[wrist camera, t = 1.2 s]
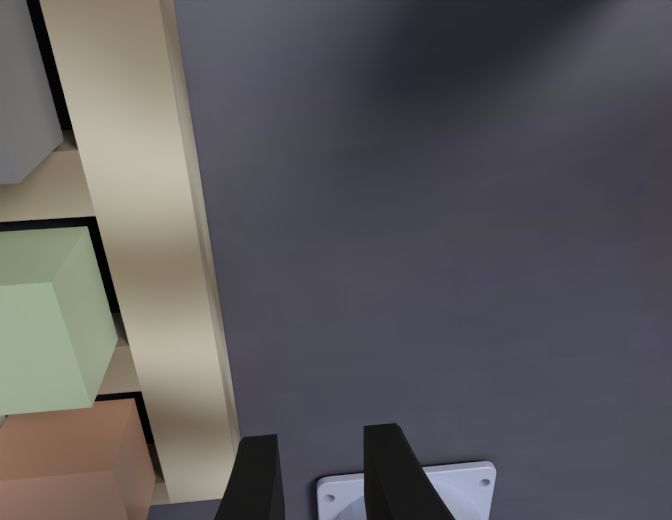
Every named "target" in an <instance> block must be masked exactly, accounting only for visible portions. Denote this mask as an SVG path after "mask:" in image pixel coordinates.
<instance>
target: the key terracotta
mask: <svg viewBox="0 0 672 520" xmlns="http://www.w3.org/2000/svg"><path fill="white" fill-rule="evenodd" d="M155 479H156V477H155V473H154V470H153V466H152V462H151V459H150V455H149V451H148V448H147V444H146V440H145V437H144V433H143V429H142V426H141V422H140V418H139V415H138V411H137V407H136V404H135V400H134V398H132V399H120V400H109V401H97V402H94V403H93V406H92V407H91V408H79V409H68V410H56V411H45V412H33V413H22V414H10V415H8V417H7V418H6V420H5V422H4V424H3V426H2V427H1V429H0V520H147V516H148V512H149V507H150V502H151V498H152V493H153V489H154V484H155Z"/></svg>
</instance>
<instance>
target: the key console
mask: <svg viewBox="0 0 672 520" xmlns="http://www.w3.org/2000/svg"><path fill="white" fill-rule="evenodd" d="M40 4H41V8H42V12H43V16H44V20H45V23H46V27H47V31H48V35H49V39H50V43H51V46H52V50H53V54H54V58H55V62H56V66H57V69H58V73H59V77H60V81H61V85H62V89H63V92H64V96H65V100H66V104H67V108H68V112H69V115H70V119H71V123H72V127H73V130H61V131H62V135H63V139H64V140H63V141H62V142H61V143H60V144H59V145H58V146H57V147H56V148H55V149H54V150H53V151H52V152H51V153H50V154H49V155H48V156H47V157H46V158H45V159H44V160H43V161H41V162H40V163H39V164H38V165H37V166H36V167H35V168H34V169H33V170H32V171H31V172H30V173H29V174H28V175H27V176H26V177H25V178H24V179H23V180H22V181H21V182H20V183H12V184H0V222H7V221H23V220H39V219H55V218H71V217H87V216H96V219H97V223H98V227H99V230H100V234H101V238H102V242H103V246H104V250H105V253H106V257H107V261H108V265H109V269H110V273H111V276H112V280H113V284H114V288H115V292H116V296H117V299H118V303H119V307H120V311H121V312H117V313H111V315H112V319H113V323H114V326H115V330H116V334H117V337H118V341H117V344H116V346H115V349H114V351H113V354H112V357H111V359H110V362H109V364H108V367H107V370H106V372H105V375H104V377H103V380H102V383H101V385H100V388H99V390H98V393H97V395H99V394H111V393H123V392H134V391H142V395H143V399H144V403H145V407H146V411H147V414H148V418H149V422H150V426H151V430H152V434H153V437H154V441H155V444H147V448H148V451H149V455H150V459H151V462H152V466H153V470H154V473H155V477H156V479H155V484H154V489H153V493H152V498H151V502H150V506H151V505H161V504H171V503H181V502H191V501H200V500H210V499H220V498H223V495H224V492H225V490H226V487H227V484H228V481H229V478H230V475H231V472H232V468H233V465H234V461H235V458H236V454H237V450H238V445H239V442H240V441H241V439H240V432H239V426H238V419H237V413H236V406H235V400H234V393H233V387H232V380H231V374H230V367H229V361H228V354H227V348H226V341H225V335H224V328H223V322H222V315H221V309H220V302H219V296H218V289H217V283H216V276H215V270H214V263H213V257H212V250H211V244H210V237H209V231H208V224H207V218H206V211H205V205H204V198H203V192H202V185H201V179H200V172H199V166H198V159H197V153H196V146H195V140H194V133H193V127H192V120H191V114H190V107H189V101H188V94H187V88H186V81H185V75H184V68H183V62H182V55H181V49H180V42H179V35H178V29H177V22H176V16H175V9H174V3H173V0H40ZM7 417H8V415H0V429H1V427H2V426H3V424H4V422H5V420H6V418H7Z"/></svg>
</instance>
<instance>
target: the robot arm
mask: <svg viewBox="0 0 672 520" xmlns="http://www.w3.org/2000/svg"><path fill="white" fill-rule="evenodd" d="M495 477H496V470H495V467H494V465H493V464H492V463H491V462H488V461H480V462H470V463H460V464H450V465H440V466H430V467H421V465H420V463H419V461H418V460H417V458H416V456H415V454H414V453H413V451H412V449H411V447H410V445H409V443H408V441H407V439H406V437H405V435H404V433H403V431H402V429H401V427H400V426H398V425H397V424H396V423H392V424H381V425H370V426H364V473H359V474H349V475H338V476H328V477H324V478H322V479H320V480H319V481H318V482H317V485H316V486H317V502H318V518H319V520H488V518H489V513H490V507H491V501H492V495H493V489H494V483H495ZM214 520H285V505H284V496H283V486H282V477H281V468H280V459H279V449H278V440H277V434H273V435H262V436H251V437H244V438H243V439H242V440H241V441H240V442H239V445H238V450H237V454H236V458H235V461H234V465H233V468H232V472H231V475H230V478H229V481H228V484H227V487H226V490H225V492H224V495H223V498H222V501H221V504H220V506H219V509H218V511H217V514H216V516H215V519H214Z"/></svg>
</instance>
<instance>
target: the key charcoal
mask: <svg viewBox="0 0 672 520" xmlns="http://www.w3.org/2000/svg"><path fill="white" fill-rule="evenodd" d="M63 140H64V139H63V135H62V131H61V128H60V124H59V120H58V117H57V113H56V109H55V105H54V102H53V98H52V94H51V91H50V87H49V83H48V80H47V76H46V72H45V69H44V65H43V61H42V58H41V54H40V50H39V47H38V43H37V39H36V36H35V32H34V28H33V25H32V21H31V17H30V13H29V10H28V6H27V2H26V0H0V184H12V183H20V182H21V181H22V180H23V179H24V178H25V177H26V176H27V175H28V174H29V173H30V172H31V171H32V170H33V169H34V168H35V167H36V166H37V165H38V164H39V163H40V162H41V161H43V160H44V159H45V158H46V157H47V156H48V155H49V154H50V153H51V152H52V151H53V150H54V149H55V148H56V147H57V146H58V145H59V144H60V143H61V142H62V141H63Z"/></svg>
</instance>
